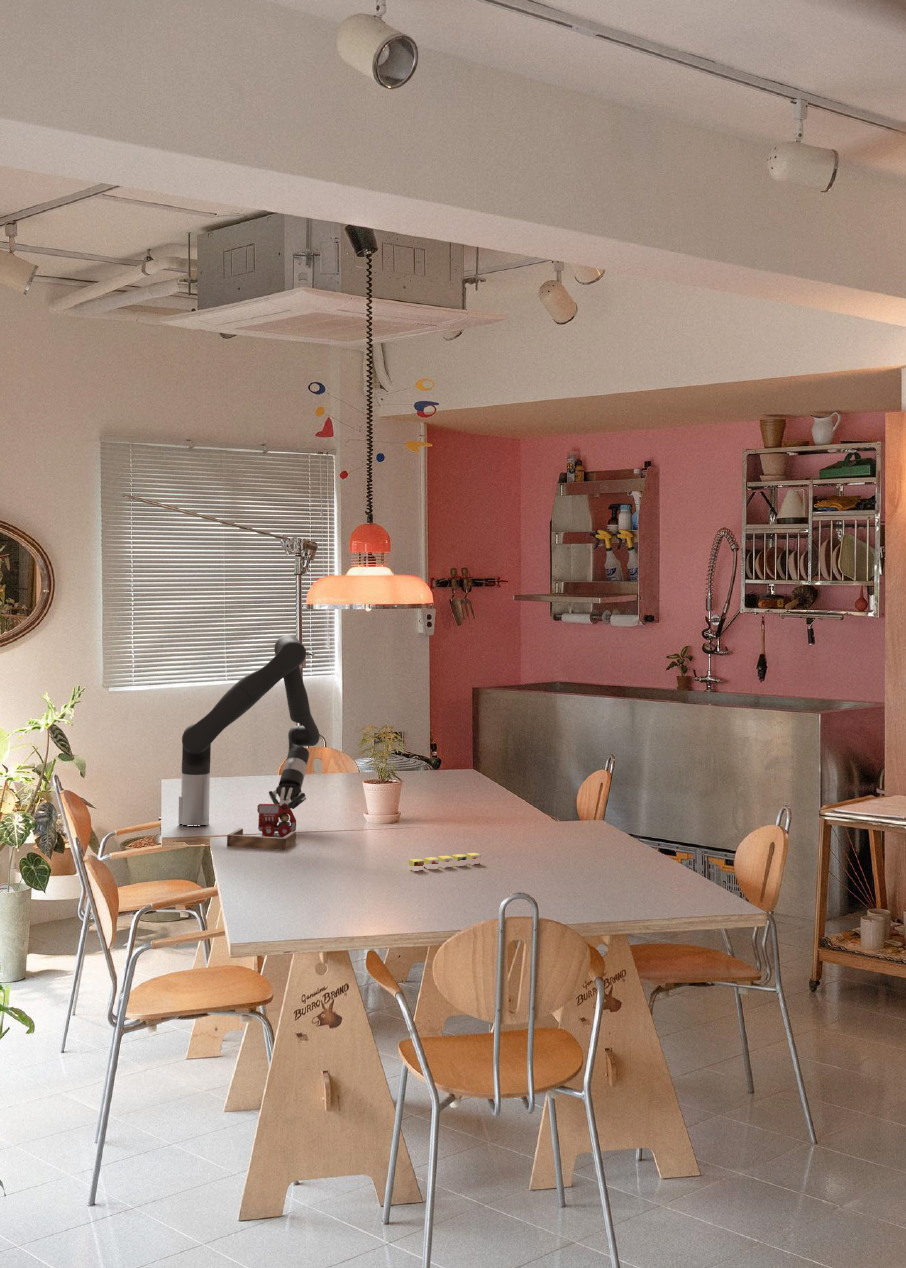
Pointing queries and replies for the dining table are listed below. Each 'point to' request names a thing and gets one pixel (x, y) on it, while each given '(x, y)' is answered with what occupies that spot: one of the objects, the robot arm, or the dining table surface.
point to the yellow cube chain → (443, 859)
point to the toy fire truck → (275, 819)
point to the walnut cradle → (260, 841)
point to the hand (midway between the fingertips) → (281, 817)
